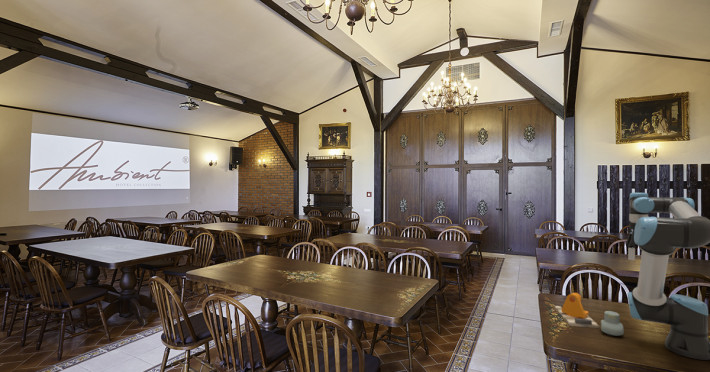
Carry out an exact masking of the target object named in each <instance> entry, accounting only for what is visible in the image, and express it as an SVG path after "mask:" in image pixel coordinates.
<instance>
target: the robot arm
mask: <svg viewBox="0 0 710 372" xmlns="http://www.w3.org/2000/svg"><path fill="white" fill-rule="evenodd" d="M628 200H629V213H628V216H629V217H628V219H629V225H628V227H629V228H628V229H629V230H628V236H627V239H626V243H625V246H627V249H628V251H627V253H628V257H627V258H628V261H635V260H636V245H637V246H638V247H639V249H640V250H641V256H640V262H639V263H640V265H639V273H638V281H637V286H636V287H634V288H633V290H632V291H629V292H628V293H627V302H628V306H629V308H628V309H629V313H630V316H631V318H633V319H635V320H638V321H639V320H640V321H644V322H645V321H646V322H652V323H656V324H662V325H663V324H665V325H670V330H669V332H668V334H667V336H666V338H665V340H664V346H665V348H666V349H667V350H669V351H671V352H673V353H674V354H676V355H680V356H682V357H686V358H691V359H694V360H702V361H709V360H710V339H709V337H708V336H709V308H708V305H707V304H706V303H705V302H704V301H702V300H700V299H697V298H694V297H691V296H688V295H687V296H686V295H683V294H676V293H675V294H674V293H671V294H670V296H669V297H667V296H666V294H665V292H664V289H665V283H666V277H667V271H668V270H667V269H668V264H669V259H670V255H673V254H674V253H675V251H676V249H677V248H679V249H680V248H681V249H696V248H701V247H704V246H706V245H708V244H710V219H709V218H707V217H705V216H701V214H700V213H698V211H696V209H695V205H696V204H695V200H694V199H692V198H690V197H683V196H682V197H662V196H661V197H657V196H656V197H653V196H649V193H647V192H631V193H630V194H629V197H628ZM649 213H658V214H671V215H672V216H673V217H656V216H649Z"/></svg>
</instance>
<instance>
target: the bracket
mask: <svg viewBox="0 0 710 372" xmlns="http://www.w3.org/2000/svg"><path fill="white" fill-rule="evenodd" d="M581 301H582V296H581V295H580V294H579V293H578V292H572V293H570V294H568V295H567V296H566V299H565V300H564V305H563V307H562V312H563V313H567V315H568V316H572V317H575V318H579V317H581V318H585V317H587V316H589V311H588V310H585V309H584V306H583V304H582V302H581Z"/></svg>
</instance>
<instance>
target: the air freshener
mask: <svg viewBox="0 0 710 372" xmlns="http://www.w3.org/2000/svg"><path fill="white" fill-rule="evenodd" d="M603 318H604V319H601V320H600V329H601V330H600V331H601V332H602V333H604V334H607V335H609V336H615V337H617V336H618V337H619V336H623V335H624V325H623V324H622V323H621V322H620V314H619V313H618V312H615V311H611V310H606V311H604V316H603Z"/></svg>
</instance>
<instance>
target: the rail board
mask: <svg viewBox="0 0 710 372" xmlns="http://www.w3.org/2000/svg"><path fill="white" fill-rule="evenodd" d="M563 305H564V303H563V302H562V303H560V306H559V305H554V309H555V310H556V311H557V312H558V313H559V315H560V316H561V317H562V319H564V320H565V322H566V323H567V324H568V325H569V326H571V327H581V328H582V327H583V328H592V329H599V328H600V325H599V324H597V322H596V321H595V320H594V319H592V317H590V316H589V315H588V316H587V317H585V318H581V317H579V318H575V317H572V316H568V315H567V313H563V312H562V307H563Z"/></svg>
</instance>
